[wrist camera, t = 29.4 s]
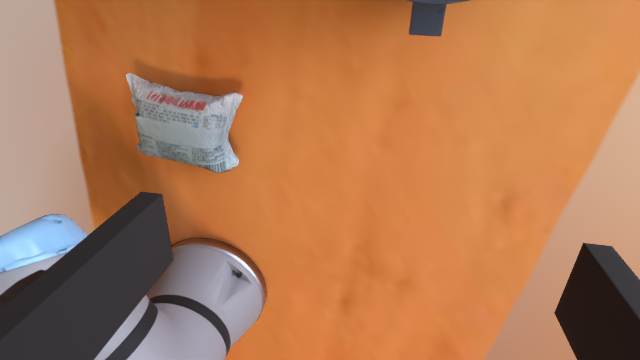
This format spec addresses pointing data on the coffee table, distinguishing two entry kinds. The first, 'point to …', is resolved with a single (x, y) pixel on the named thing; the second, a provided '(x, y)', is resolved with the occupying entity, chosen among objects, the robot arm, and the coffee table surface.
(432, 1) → the lid
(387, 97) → the coffee table surface
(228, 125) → the packaged food
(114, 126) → the coffee table surface
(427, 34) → the pot
